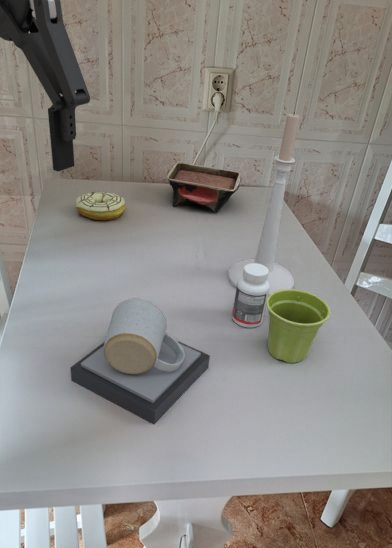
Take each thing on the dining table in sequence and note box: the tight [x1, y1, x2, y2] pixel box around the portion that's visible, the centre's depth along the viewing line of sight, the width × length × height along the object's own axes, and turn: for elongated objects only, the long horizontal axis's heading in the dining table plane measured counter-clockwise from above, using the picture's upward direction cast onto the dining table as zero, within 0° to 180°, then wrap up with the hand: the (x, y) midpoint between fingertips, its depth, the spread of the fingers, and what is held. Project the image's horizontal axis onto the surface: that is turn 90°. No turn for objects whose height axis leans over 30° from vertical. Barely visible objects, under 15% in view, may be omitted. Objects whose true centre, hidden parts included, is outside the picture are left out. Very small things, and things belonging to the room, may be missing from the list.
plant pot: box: [266, 288, 331, 364], centre depth 75 cm, size 9×9×9 cm
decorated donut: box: [75, 191, 126, 221], centre depth 110 cm, size 10×11×4 cm
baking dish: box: [166, 162, 242, 214], centre depth 120 cm, size 14×18×10 cm
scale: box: [69, 339, 211, 425], centre depth 69 cm, size 14×14×3 cm
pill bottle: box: [231, 263, 270, 329], centre depth 80 cm, size 5×5×10 cm
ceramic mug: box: [103, 297, 185, 374], centre depth 65 cm, size 11×8×8 cm
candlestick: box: [227, 112, 301, 296], centre depth 85 cm, size 13×13×30 cm
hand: (21, 154), depth 59 cm, fingers open, 13 cm apart
